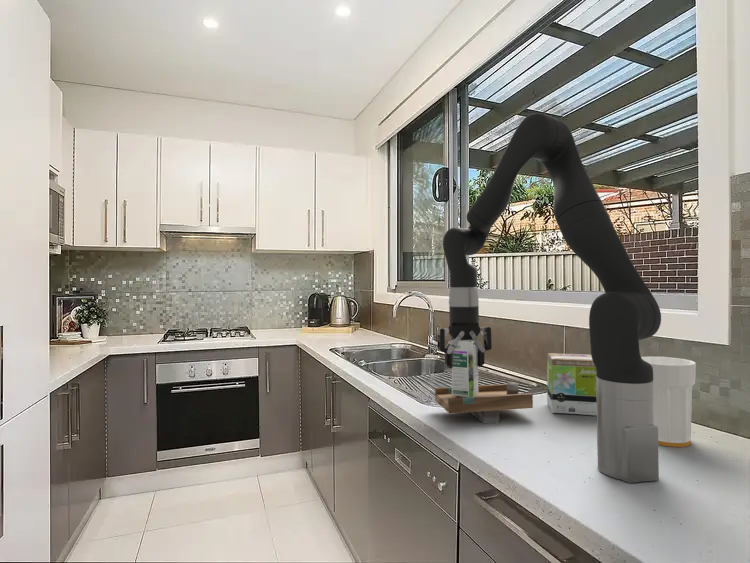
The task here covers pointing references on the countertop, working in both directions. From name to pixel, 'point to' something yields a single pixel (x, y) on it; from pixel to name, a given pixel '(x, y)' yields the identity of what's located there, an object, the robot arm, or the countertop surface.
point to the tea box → (571, 384)
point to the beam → (485, 401)
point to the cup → (672, 399)
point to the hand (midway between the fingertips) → (464, 367)
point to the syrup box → (465, 369)
